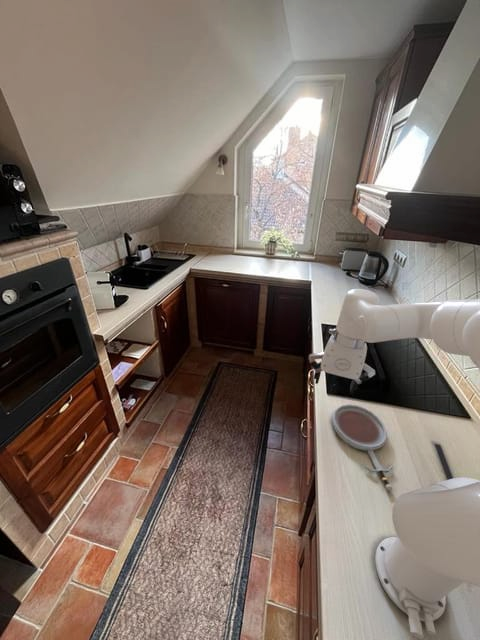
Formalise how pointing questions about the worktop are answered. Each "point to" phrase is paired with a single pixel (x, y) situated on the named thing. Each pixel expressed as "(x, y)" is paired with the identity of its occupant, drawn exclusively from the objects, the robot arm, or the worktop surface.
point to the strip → (443, 462)
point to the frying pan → (361, 432)
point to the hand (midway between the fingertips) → (333, 385)
